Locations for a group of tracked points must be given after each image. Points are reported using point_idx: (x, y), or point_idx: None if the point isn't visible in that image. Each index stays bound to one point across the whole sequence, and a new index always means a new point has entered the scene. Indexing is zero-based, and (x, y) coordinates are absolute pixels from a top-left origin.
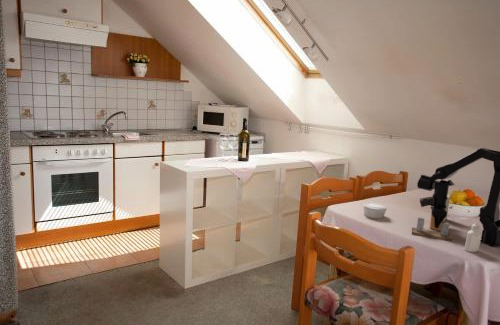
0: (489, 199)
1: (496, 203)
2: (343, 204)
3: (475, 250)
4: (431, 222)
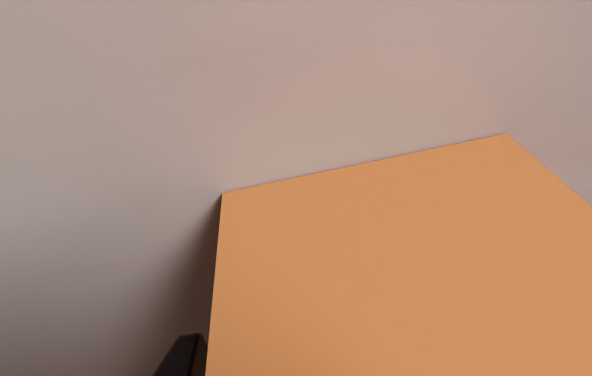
0: None
1: None
2: None
3: None
4: (217, 331)
